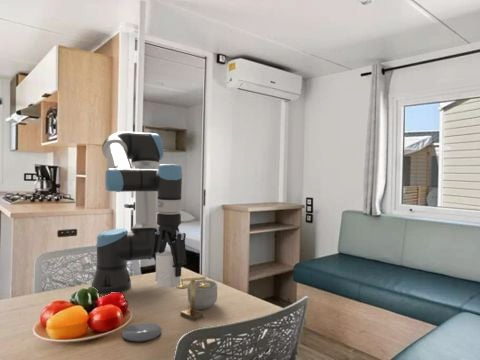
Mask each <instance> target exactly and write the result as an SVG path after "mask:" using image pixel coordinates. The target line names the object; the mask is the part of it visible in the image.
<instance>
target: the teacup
mask: <svg viewBox="0 0 480 360" xmlns="http://www.w3.org/2000/svg"><path fill="white" fill-rule="evenodd" d="M203 282H205V283H210V287H208V288H200V287H198V284H199V283H203ZM187 285H188V288H187V299H188V303H189V304H190V282H189V283H188V284H187ZM217 299H218V282H216V281H215V280H210V279H209V280H208V279H207V278H206V279H205V281H204V280H195V309H197V310H207V309H210V308H211V307H213V305H215V303H216V302H217Z"/></svg>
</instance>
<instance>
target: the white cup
mask: <svg viewBox="0 0 480 360" xmlns="http://www.w3.org/2000/svg"><path fill="white" fill-rule="evenodd" d="M177 262H178V261H177ZM173 265H174V262H173V256H172V253H171V249H170V250H165V251H164V252H163V253H159V252H157V253H156V269H155V277H156V276H157V281H156V285H157V286H158V287H160V288H173V287H172V266H173ZM156 274H157V275H156Z"/></svg>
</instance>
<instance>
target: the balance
mask: <svg viewBox="0 0 480 360" xmlns="http://www.w3.org/2000/svg"><path fill="white" fill-rule="evenodd" d="M205 279H206V280H207V278H206V276H204V275H203V276H194V277H183V278H180V282H181V283H180V286H177V287H175V288H176V289H179V290H186V289H188V284H187V283H184V282H188V281H189V283H190V303H189V308H187V309H185V310H181V311H180V316H181V317H184V318H186V319H189V320H191V321H194V322H196V321H199V320H202V319H203V318H205V317H204V316H205V314H204V313H203V312H200V311H197V310H195V309H196V308H195V281H200V280H204V281H205ZM198 287H200V288H208V287H210V283H205V282H203V283H199V284H198Z"/></svg>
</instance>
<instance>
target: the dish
mask: <svg viewBox="0 0 480 360" xmlns="http://www.w3.org/2000/svg"><path fill="white" fill-rule="evenodd" d="M161 332H162V327H161V326H160V325H158V324H157V323H153V322H138V323H133V324H131V325H129V326H126V327H125V328H124V329H122V333H121V334H122V337H123V338H124V339H125V340H127V341H131V342H135V343H136V342H137V343H139V342H142V343H143V342H147V341H150V340H153V339H155V338H157V337H158V336H159V335H161Z"/></svg>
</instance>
